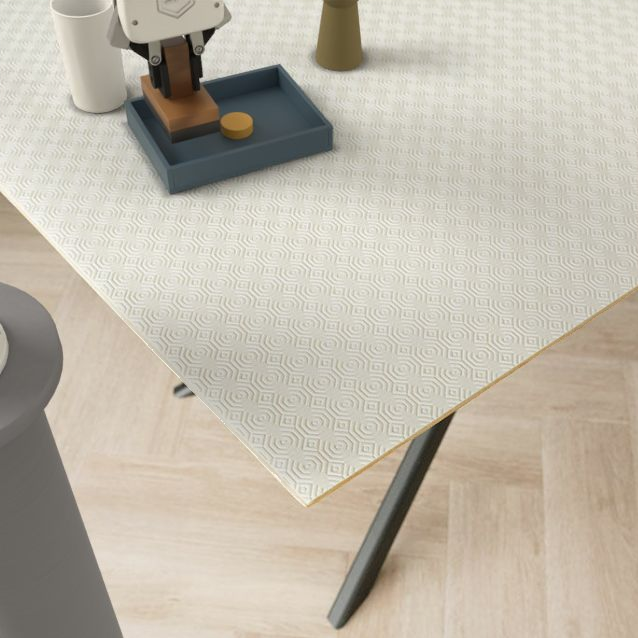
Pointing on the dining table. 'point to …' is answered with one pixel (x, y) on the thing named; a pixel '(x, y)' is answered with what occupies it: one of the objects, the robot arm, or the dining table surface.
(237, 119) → the orange disc
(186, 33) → the robot arm
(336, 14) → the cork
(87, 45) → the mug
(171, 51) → the brush
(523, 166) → the dining table surface
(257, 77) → the tray
